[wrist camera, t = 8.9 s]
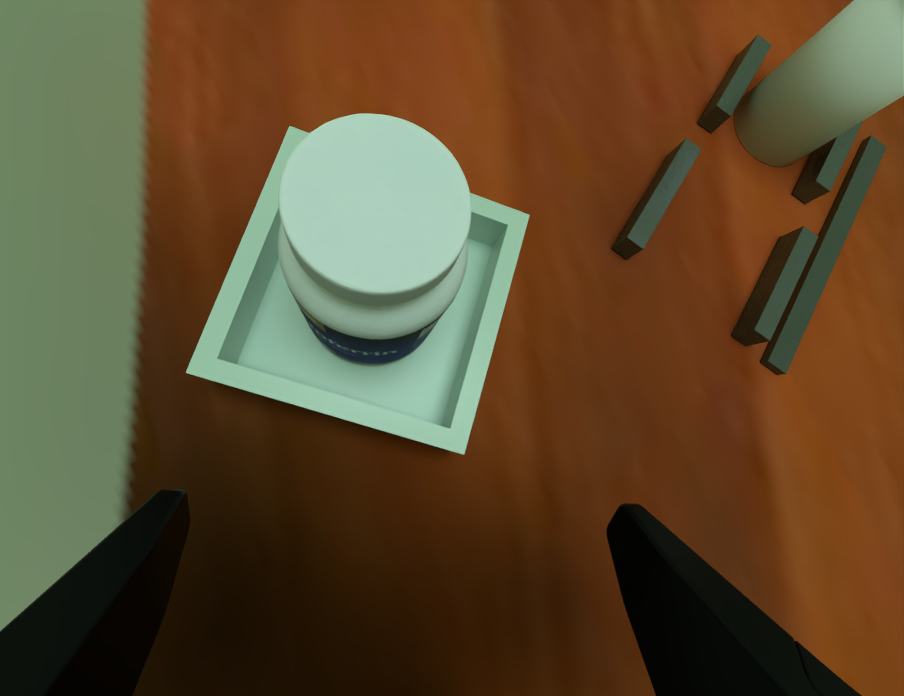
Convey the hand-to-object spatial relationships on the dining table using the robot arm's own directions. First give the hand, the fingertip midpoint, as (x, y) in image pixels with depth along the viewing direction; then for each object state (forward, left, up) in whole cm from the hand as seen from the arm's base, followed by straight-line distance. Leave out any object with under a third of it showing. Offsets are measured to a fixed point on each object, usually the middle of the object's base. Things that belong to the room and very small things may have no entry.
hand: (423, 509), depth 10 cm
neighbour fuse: (+25, -16, -11) cm, 31 cm away
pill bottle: (+7, +3, -11) cm, 13 cm away
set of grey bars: (+20, -15, -11) cm, 27 cm away
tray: (+7, +3, -11) cm, 13 cm away
